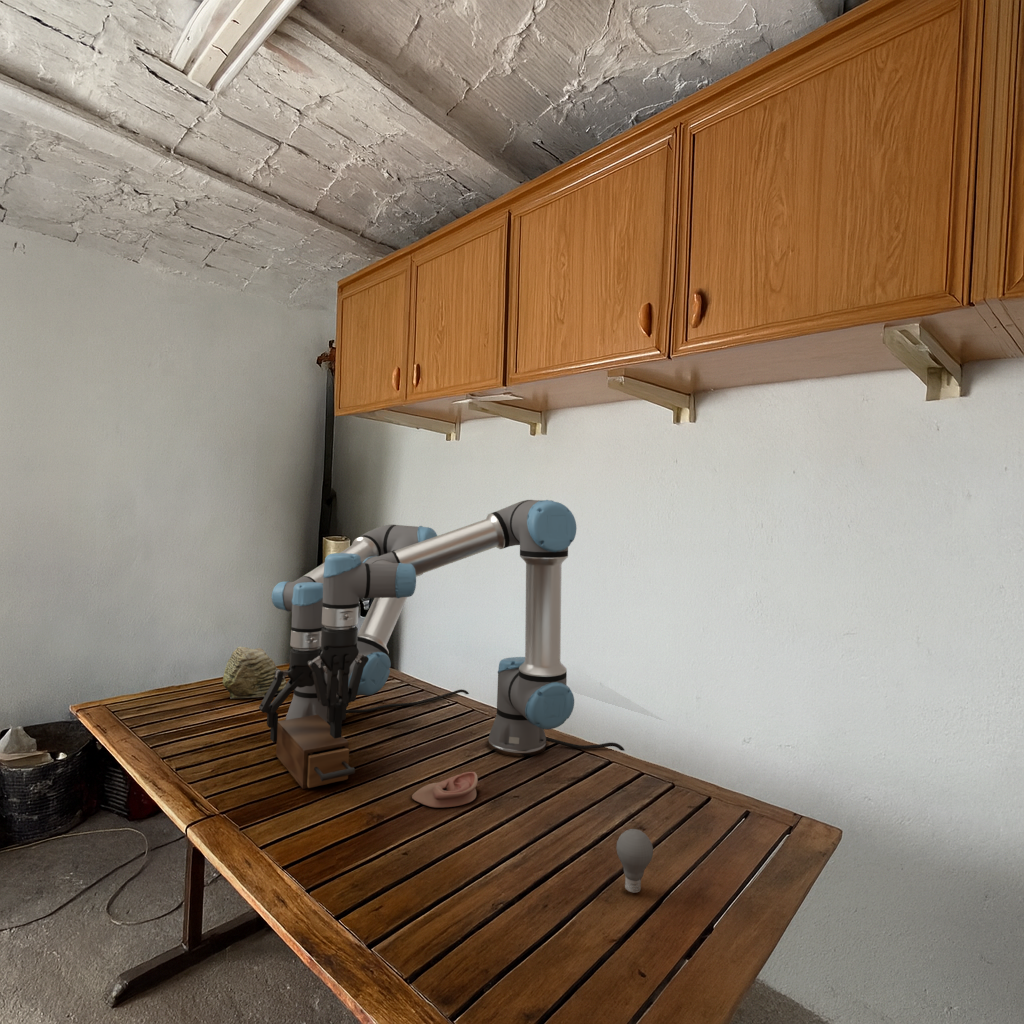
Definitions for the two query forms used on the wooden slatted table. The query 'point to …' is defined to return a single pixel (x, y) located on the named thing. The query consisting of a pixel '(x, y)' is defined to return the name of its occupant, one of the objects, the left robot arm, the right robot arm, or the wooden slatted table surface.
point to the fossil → (249, 673)
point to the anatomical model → (449, 791)
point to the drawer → (328, 766)
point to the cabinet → (303, 743)
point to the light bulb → (634, 857)
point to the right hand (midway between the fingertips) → (335, 735)
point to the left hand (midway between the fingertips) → (302, 735)
